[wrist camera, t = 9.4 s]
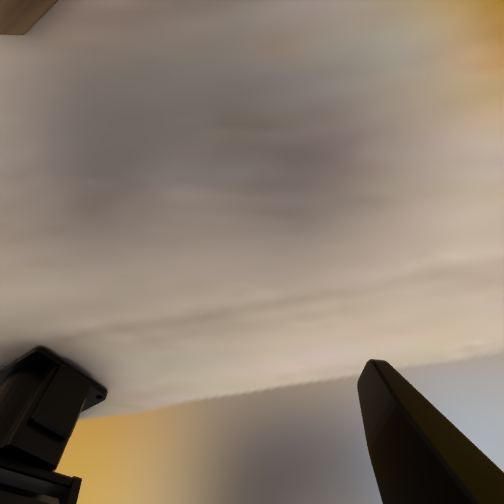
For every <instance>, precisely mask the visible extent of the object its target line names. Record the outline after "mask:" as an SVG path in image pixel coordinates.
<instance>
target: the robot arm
mask: <svg viewBox="0 0 504 504" xmlns="http://www.w3.org/2000/svg"><path fill="white" fill-rule="evenodd" d="M357 388H358V395H359V401H360V407H361V412H362V418H363V424H364V430H365V435H366V441H367V446H368V451H369V455H370V459H371V463H372V466H373V470H374V474H375V477H376V481H377V484H378V487H379V492H380V495H381V499H382V502H383V504H504V472H503V471H501V469H499V468H498V467H497V466H496V465H495V464H494V463H493V462H492V461H491V460H490V459H489V458H488V457H487V456H486V455H484V453H483V452H482V451H481V450H479V449H478V448H477V447H476V446H475V445H474V444H473V443H472V442H471V441H470V440H469V439H468V438H467V437H466V436H465V435H464V434H463V433H462V432H460V431H459V430H458V429H457V428H456V427H455V426H454V425H453V424H452V423H451V422H450V421H449V420H448V419H447V418H446V417H445V416H444V415H443V414H442V413H440V412H439V411H438V410H437V409H436V408H435V407H434V406H433V405H432V404H431V403H430V402H429V401H428V400H427V399H426V398H425V397H424V396H423V395H422V394H421V393H420V392H418V391H417V390H416V389H415V388H414V387H413V386H412V385H411V384H410V383H409V382H408V381H407V380H406V379H405V378H404V377H403V376H402V375H401V374H400V373H398V372H397V371H396V370H395V369H394V368H393V367H392V366H391V365H390V364H389V363H388V362H386V361H384V360H375V359H370V360H369V361H368V362H367V363H366V365H365V367H364V369H363V371H362V373H361V375H360V377H359V380H358V384H357ZM106 396H107V391H106V390H105V389H103V388H102V387H100V386H99V385H98V384H96V383H95V382H93V381H92V380H90V379H89V378H87V377H86V376H84V375H83V374H81V373H80V372H78V371H77V370H75V369H74V368H73V367H71V366H70V365H68V364H67V363H65V362H64V361H62V360H61V359H59V358H58V357H56V356H55V355H53V354H52V353H51V352H49V351H48V350H46V349H44V348H35V349H34V350H32V351H30V352H29V353H27V354H26V355H24V356H22V357H21V358H19V359H18V360H16V361H15V362H13V363H11V364H10V365H8V366H7V367H5V368H3V369H2V370H0V504H76V502H77V499H78V494H79V490H80V485H81V481H82V478H79V477H75V476H74V477H69V476H66V475H62V474H60V473H56V472H55V470H56V468H57V466H58V464H59V462H60V459H61V457H62V454H63V452H64V449H65V447H66V445H67V442H68V440H69V438H70V436H71V434H72V432H73V429H74V427H75V425H76V422H77V420H78V418H79V415H80V413H81V412H83V411H84V410H86V409H88V408H90V407H92V406H94V405H96V404H98V403H100V402H102V401H103V400H105V399H106Z"/></svg>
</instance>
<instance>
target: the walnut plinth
mask: <svg viewBox="0 0 504 504" xmlns="http://www.w3.org/2000/svg"><path fill="white" fill-rule="evenodd" d="M57 1H58V0H0V35H24V34H25V33H26V32H27V31H28V30H29V29H30V28H31V27H32V26H33V25H34V24H35V23H36V22H37V21H38V20H39V19H40V18H41V17H42V16H43V15H44V14H45V13H46V12H47V11H48V10H49V9H50V8H51V7H52V6H53V5H54V4H55V3H56V2H57Z"/></svg>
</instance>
